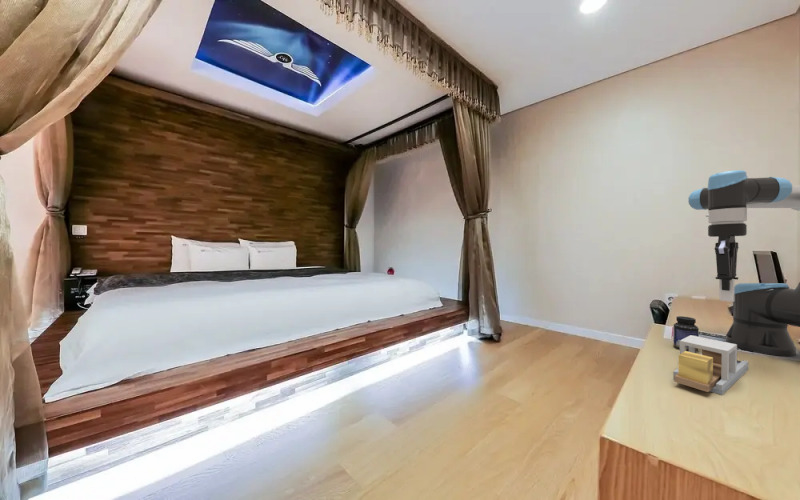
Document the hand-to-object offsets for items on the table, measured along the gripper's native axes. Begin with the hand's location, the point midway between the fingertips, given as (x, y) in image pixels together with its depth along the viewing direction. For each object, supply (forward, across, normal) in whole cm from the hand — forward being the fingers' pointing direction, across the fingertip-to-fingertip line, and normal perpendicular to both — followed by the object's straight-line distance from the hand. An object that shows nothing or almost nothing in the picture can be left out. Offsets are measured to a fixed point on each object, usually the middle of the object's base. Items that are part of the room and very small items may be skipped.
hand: (726, 300), depth 84 cm
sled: (+18, +20, 0) cm, 27 cm away
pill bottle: (+20, -6, -11) cm, 24 cm away
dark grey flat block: (+20, -3, 0) cm, 20 cm away
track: (+20, +13, 0) cm, 24 cm away
